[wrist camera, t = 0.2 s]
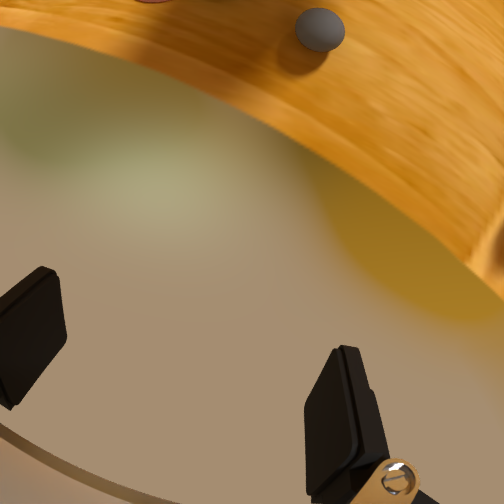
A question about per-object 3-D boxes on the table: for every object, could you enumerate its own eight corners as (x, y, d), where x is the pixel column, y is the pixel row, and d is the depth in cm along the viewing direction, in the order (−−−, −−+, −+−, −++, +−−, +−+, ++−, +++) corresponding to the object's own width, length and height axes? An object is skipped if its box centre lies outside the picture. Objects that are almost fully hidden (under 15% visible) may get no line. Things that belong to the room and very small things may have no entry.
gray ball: (300, 11, 29) (303, -5, 24) (344, 25, 29) (354, 11, 24) (289, 48, 31) (290, 36, 26) (333, 62, 31) (342, 52, 26)
